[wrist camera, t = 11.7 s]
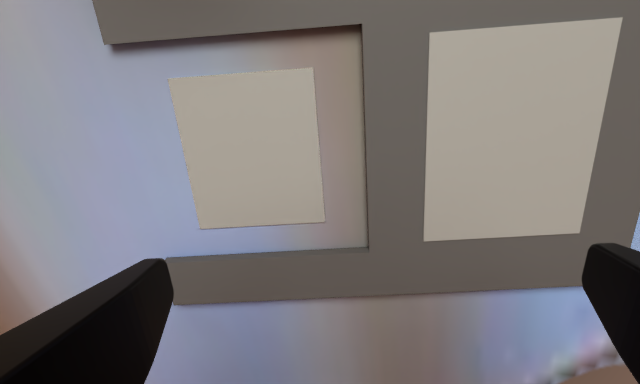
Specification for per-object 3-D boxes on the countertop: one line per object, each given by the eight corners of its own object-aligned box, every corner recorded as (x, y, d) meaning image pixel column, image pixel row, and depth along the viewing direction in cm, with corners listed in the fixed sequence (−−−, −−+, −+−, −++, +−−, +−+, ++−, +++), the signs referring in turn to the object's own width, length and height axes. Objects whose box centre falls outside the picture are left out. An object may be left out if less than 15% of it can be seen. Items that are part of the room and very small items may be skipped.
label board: (699, -81, 14) (719, -87, 13) (611, 275, 20) (622, 285, 19) (94, -27, 15) (83, -29, 15) (178, 296, 21) (173, 306, 20)
